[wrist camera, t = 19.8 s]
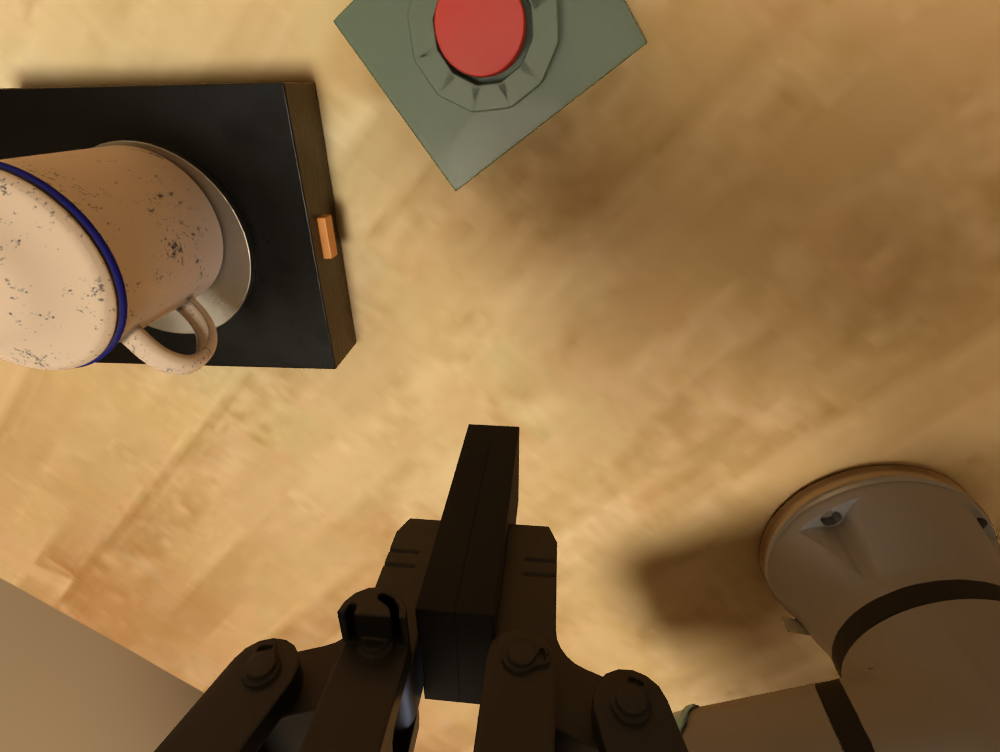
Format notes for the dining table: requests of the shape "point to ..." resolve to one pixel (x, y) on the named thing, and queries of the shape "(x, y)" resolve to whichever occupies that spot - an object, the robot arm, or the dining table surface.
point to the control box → (486, 100)
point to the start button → (480, 34)
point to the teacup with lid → (103, 258)
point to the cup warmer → (224, 204)
